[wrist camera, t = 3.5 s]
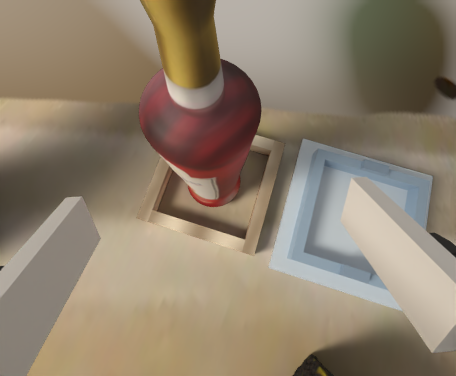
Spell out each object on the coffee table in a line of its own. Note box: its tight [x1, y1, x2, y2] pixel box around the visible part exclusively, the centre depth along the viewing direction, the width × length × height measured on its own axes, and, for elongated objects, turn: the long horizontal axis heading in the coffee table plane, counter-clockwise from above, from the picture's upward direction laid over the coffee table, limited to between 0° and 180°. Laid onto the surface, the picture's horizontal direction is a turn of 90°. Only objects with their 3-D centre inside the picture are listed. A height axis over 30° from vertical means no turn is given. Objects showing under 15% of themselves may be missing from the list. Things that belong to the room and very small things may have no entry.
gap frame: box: [136, 135, 285, 256], centre depth 32 cm, size 15×15×2 cm
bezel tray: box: [268, 139, 433, 311], centre depth 30 cm, size 18×18×3 cm
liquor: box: [139, 0, 261, 207], centre depth 19 cm, size 7×7×28 cm
